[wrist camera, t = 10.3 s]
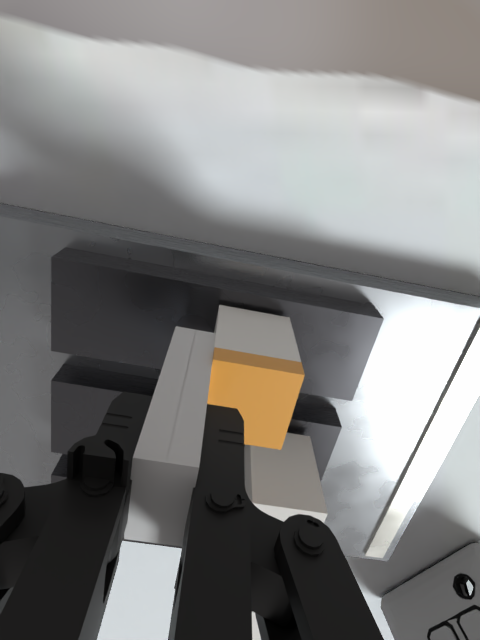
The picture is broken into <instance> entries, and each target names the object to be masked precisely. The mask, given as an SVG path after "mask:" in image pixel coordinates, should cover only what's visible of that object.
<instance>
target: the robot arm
mask: <svg viewBox="0 0 480 640" xmlns="http://www.w3.org/2000/svg"><path fill="white" fill-rule="evenodd" d="M215 335H216V333H212V332H206V331H200V330H195V329H189V328H183V327H178V326H176V327H175V330H174V333H173V336H172V340H171V343H170V346H169V349H168V352H167V355H166V358H165V361H164V364H163V367H162V370H161V373H160V376H159V379H158V382H157V385H156V388H155V391H154V394H153V396H149V395H143V394H136V393H130V392H123V393H121V394H120V395H119V396H117V397H116V398H115V399H114V400H112V402H111V404H110V406H109V408H108V410H107V413H106V415H105V417H104V419H103V421H102V424H101V425H100V427H99V430H98V432H97V434H96V435H94V436H90V437H86V438H83V439H81V440H80V441H78V442H76V443H74V445H73V446H72V447H71V448H70V449H69V450H68V454H67V478H66V479H63V480H61V481H58V482H56V483H51V484H47V485H39V486H31V487H24V486H23V484H22V482H21V480H20V479H18V478H17V477H15V476H13V475H11V474H5V473H0V640H97V637H98V633H99V629H100V626H101V622H102V619H103V615H104V612H105V608H106V604H107V601H108V597H109V594H110V590H111V587H112V583H113V579H114V576H115V572H116V569H117V565H118V561H119V552H120V546H121V543H122V539H123V536H124V539H127V540H135V541H142V542H150V543H157V544H165V545H172V546H180V547H182V552H181V558H180V563H179V568H178V573H177V578H176V583H175V587H174V589H175V595H174V602H173V609H172V616H171V623H170V630H169V636H168V640H252V612H254V613H255V616H256V620H257V624H258V628H259V633H260V637H261V640H384V639H383V637H382V635H381V633H380V630H379V628H378V626H377V624H376V622H375V620H374V618H373V616H372V613H371V611H370V609H369V607H368V605H367V603H366V601H365V599H364V596H363V594H362V592H361V590H360V588H359V586H358V584H357V581H356V579H355V577H354V575H353V573H352V571H351V569H350V567H349V564H348V562H347V560H346V558H345V556H344V554H343V552H342V550H341V547H340V545H339V543H338V541H337V539H336V537H335V536H334V534H333V533H332V531H331V530H330V528H329V527H328V526H327V525H325V524H324V523H323V522H322V521H321V520H319V519H317V518H314V517H312V516H310V515H303V514H297V515H293V516H290V517H288V518H287V519H286V520H285V521H284V522H283V521H281V520H279V519H277V518H274V517H272V516H270V515H268V514H266V513H264V512H263V511H261V510H260V509H258V508H257V507H256V506H255V505H254V504H253V503H252V502H251V500H250V499H249V497H248V495H247V493H246V490H245V469H244V420H243V418H242V416H241V414H240V413H239V411H238V409H236V408H230V407H224V406H218V405H211V404H207V400H208V392H209V384H210V376H211V368H212V360H213V352H214V343H215Z"/></svg>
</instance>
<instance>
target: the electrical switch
mask: <svg viewBox="0 0 480 640" xmlns="http://www.w3.org/2000/svg"><path fill="white" fill-rule="evenodd" d="M468 580H469V581H470V582H471V584H472V585H473V591H472V594H471V595H470V596H469V592H468V589H467V585H466V582H467V581H468ZM381 609H382V611H383V614H384V616H385V618H386V621H387V623H388V625H389V627H390V630H391V632H392V634H393V637H394V639H395V640H480V544H479V543H471V544H469V545H467V546H466V547H464V548H462V549H461V550H459V551H457V552H456V553H454V554H452V555H451V556H449V557H447V558H446V559H444V560H442V561H441V562H439V563H437V564H436V565H434V566H432V567H431V568H429V569H427V570H426V571H424V572H422V573H421V574H419V575H417V576H416V577H414V578H412V579H411V580H409V581H407V582H405V583H404V584H402V585H400V586H399V587H397V588H395V589H394V590H392V591H390V592H389V593H387V594H385V595H384V596H383V597H382V601H381Z"/></svg>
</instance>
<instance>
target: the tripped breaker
mask: <svg viewBox="0 0 480 640" xmlns="http://www.w3.org/2000/svg"><path fill="white" fill-rule="evenodd" d="M214 333H216V335H215V343H214V352H213V360H212V368H211V376H210V384H209V392H208V400H207V404H211V405H218V406H224V407H230V408H236V409H238V411H239V413H240V414H241V416H242V418H243V420H244V444H246V445H253V446H259V447H266V448H272V449H279V450H281V449H282V446H283V443H284V439H285V436H286V433H287V430H288V427H289V424H290V420H291V417H292V414H293V411H294V408H295V405H296V401H297V398H298V395H299V392H300V389H301V386H302V383H303V379H304V376H305V374H304V370H303V366H302V363H301V359H300V355H299V351H298V347H297V344H296V340H295V336H294V332H293V328H292V325H291V321H290V317H284V316H279V315H273V314H268V313H262V312H257V311H251V310H246V309H240V308H235V307H229V306H224V305H219V309H218V314H217V319H216V324H215V330H214Z"/></svg>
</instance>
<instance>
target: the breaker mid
mask: <svg viewBox="0 0 480 640" xmlns="http://www.w3.org/2000/svg"><path fill="white" fill-rule="evenodd" d="M244 469H245V490H246V493H247V495H248V497H249V499H250V500H251V502H252V503H253V504H254V505H255V506H256V507H257V508H258V509H260V510H261V511H263V512H264V513H266V514H268V515H270V516H272V517H274V518H277V519H279V520H281V521H283V522H284V521H285V520H286V519H287V518H288V517H290V516H293V515H297V514H303V515H310V516H312V517H314V518H317V519H319V520H321V521H322V522H323V523H324V522H325V519H326V517H327V514H328V513H327V508H326V504H325V499H324V495H323V491H322V486H321V482H320V478H319V473H318V469H317V464H316V460H315V456H314V451H313V447H312V442H311V438H310V436H305V435H299V434H293V433H286V436H285V439H284V443H283V446H282V449H281V450H279V449H272V448H266V447H259V446H253V445H246V444H245V447H244Z"/></svg>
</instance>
